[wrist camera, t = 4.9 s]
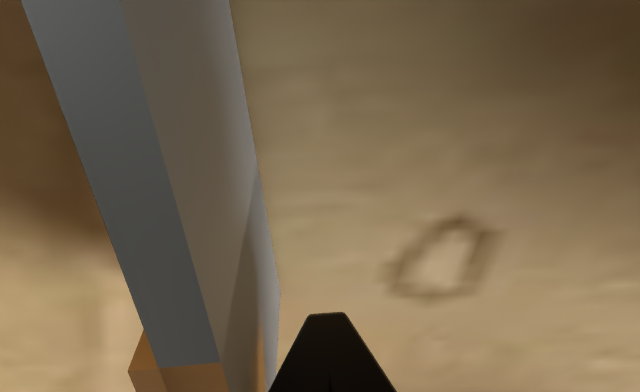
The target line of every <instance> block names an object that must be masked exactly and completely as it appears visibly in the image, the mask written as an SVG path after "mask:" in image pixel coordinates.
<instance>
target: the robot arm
mask: <svg viewBox="0 0 640 392" xmlns="http://www.w3.org/2000/svg"><path fill="white" fill-rule="evenodd" d="M268 392H397V391H396V390H395V388H394V387H393V385H392V384H391V382H390V381H389V379H388V378H387V376H386V374H385V373H384V371H383V370H382V368H381V367H380V365H379V364H378V362H377V361H376V359H375V358H374V356H373V355H372V353H371V352H370V350H369V349H368V347H367V346H366V344H365V342H364V341H363V339H362V338H361V336H360V335H359V333H358V332H357V330H356V329H355V327H354V326H353V324H352V323H351V321H350V320H349V318H348V317H347V315H346V314H345V313H343V312H332V313H319V314H310V315H309V316H308V317H307V318H306V320H305V322H304V324H303V326H302V328H301V330H300V332H299V334H298V336H297V337H296V339H295V341H294V343H293V345H292V347H291V349H290V351H289V353H288V355H287V357H286V358H285V360H284V362H283V364H282V366H281V368H280V370H279V372H278V374H277V376H276V378H275V379H274V381H273V383H272V385H271V387H270V389H269V391H268Z"/></svg>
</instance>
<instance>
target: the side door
mask: <svg viewBox="0 0 640 392" xmlns="http://www.w3.org/2000/svg"><path fill="white" fill-rule="evenodd" d="M21 2H22V5H23V8H24V10H25V13H26V16H27V18H28V21H29V24H30V26H31V29H32V32H33V34H34V37H35V40H36V42H37V45H38V48H39V50H40V53H41V56H42V58H43V61H44V64H45V66H46V69H47V72H48V74H49V77H50V80H51V82H52V85H53V88H54V90H55V93H56V96H57V98H58V101H59V104H60V106H61V109H62V112H63V114H64V117H65V120H66V123H67V125H68V128H69V131H70V133H71V136H72V139H73V141H74V144H75V147H76V149H77V152H78V155H79V157H80V160H81V163H82V165H83V168H84V171H85V173H86V176H87V179H88V181H89V184H90V187H91V189H92V192H93V195H94V197H95V200H96V203H97V205H98V208H99V211H100V213H101V216H102V219H103V221H104V224H105V227H106V229H107V232H108V235H109V237H110V240H111V243H112V245H113V248H114V251H115V253H116V256H117V259H118V261H119V264H120V267H121V269H122V272H123V275H124V277H125V280H126V283H127V285H128V288H129V291H130V293H131V296H132V299H133V301H134V304H135V307H136V309H137V312H138V315H139V317H140V320H141V323H142V325H143V328H144V330H143V333H142V335H141V338H140V341H139V343H138V346H137V348H136V351H135V353H134V356H133V359H132V361H131V364H130V366H129V369H128V374H129V376H130V378H131V381H132V383H133V385H134V388H135V390H136V392H268V391H269V389H270V387H271V385H272V383H273V381H274V379H275V378H276V366H277V348H278V329H279V310H280V287H279V281H278V276H277V270H276V264H275V259H274V253H273V248H272V242H271V236H270V231H269V225H268V219H267V214H266V208H265V202H264V197H263V191H262V185H261V180H260V174H259V169H258V163H257V157H256V152H255V146H254V140H253V135H252V129H251V123H250V118H249V112H248V106H247V101H246V95H245V89H244V84H243V78H242V73H241V67H240V61H239V56H238V50H237V44H236V39H235V33H234V27H233V22H232V16H231V10H230V5H229V0H21Z"/></svg>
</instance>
